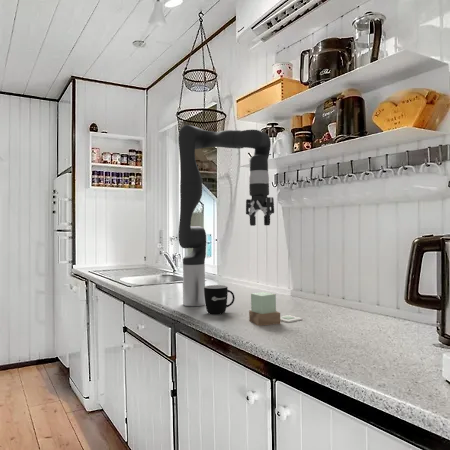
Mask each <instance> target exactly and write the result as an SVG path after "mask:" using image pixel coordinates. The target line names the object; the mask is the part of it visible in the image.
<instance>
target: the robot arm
mask: <svg viewBox="0 0 450 450" xmlns="http://www.w3.org/2000/svg"><path fill="white" fill-rule="evenodd" d="M271 143H272V142H271V137H270V135H269V134H268V133H267V132H263V131H261V130H259V129H246V130H238V129H237V130H236V129H235V130H234V129H227V130H226V129H225V130H220V131H211V130H206V129H202V128H201V127H198V126H194V125H191V124H184V125H183V126H182V127H181V128H180V130H179V132H178V150H179V160H180V164H179V165H180V183H179V184H180V185H179V186H180V188H179V191H180V192H179V193H180V198H179V199H180V204H179V205H180V208H179V210H180V211H179V213H180V214H179V226H178V237H177V238H178V242H179V246H180V248H182V249H192V251H191V253H189V254H188V255H185V256H184V257H183V259H182V274H183V275H182V278H183V280H182V304H183V306H184V307H202V306H206V305H205V296H204V287H205V286H206V277H205V276H206V268H205V267H206V266H205V263H206V262H205V259H206V256H207V233H206V230H205V228H204V227H203V226H199V225H197V226H196V225H195V226H192V224H191V223H192V217H193V214H194V211H195V210H196V208H197V206H198V205H199V203H200V201H201V199H202V196H203V178H202V175H201V172H200V169H199V167H198V165H197V161H196V150H199V149H206V148H224V149H225V148H226V149H245V148H246V149H248V148H249V149H253V150H254V152H253V155H252V156H251V157H250V158H249V176H248V181H249V182H248V185H249V186H248V187H249V196H251V199H250V198H247V199H245V215H248V216H249V225H250V226H251V227H252V226H256V225H257V224H256V218H257V217H256V215H257V213H258V212H259V211H262V213H263V225H264V226H270V225H271V215H272V214H275V204H274V203H275V202H274V197H271V196H270V176H269V156H270V152H271V148H272V147H271Z"/></svg>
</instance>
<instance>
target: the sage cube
mask: <svg viewBox="0 0 450 450" xmlns="http://www.w3.org/2000/svg"><path fill="white" fill-rule="evenodd" d="M276 297H277V294H276V293H273V292H267V291H263V292H262V291H261V292H254V293H253V292H252V293H250V304H251V305H250V307H251V308H250V310H251V311H253V312H256V313H260V314H266V313H272V312H276V311H277V301H276V299H277V298H276Z"/></svg>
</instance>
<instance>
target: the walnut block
mask: <svg viewBox="0 0 450 450" xmlns="http://www.w3.org/2000/svg"><path fill="white" fill-rule="evenodd" d="M248 315H249V317H248V318H249V319H248V320H249V322H250V323H252V324H254V325H256V326H259V327H261V326H268V325H269V326H270V325H272V326H273V325H281V321H280V317H281V312H280V311H277V310H276V312H272V313H266V314H260V313H256V312H253V311H251V309H249V310H248Z"/></svg>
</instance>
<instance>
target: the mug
mask: <svg viewBox="0 0 450 450" xmlns="http://www.w3.org/2000/svg"><path fill="white" fill-rule="evenodd" d="M228 287H229V286H228V285H224V284H223V285H222V284H212V285H211V284H209V285H205V287H204V296H205V305H204V306H205V310H206V311H207V312H206V313H207V314H209V315H213V316H217V315H218V316H219V315H223V314H226V310H227V308H229V307H230V306H232V305H233V304H234V302H235V299H236V298H235V294H234V292H233V291H232V290H230V289H229V288H228ZM228 293H230V294H231V296H232V299H231V302H230V303H228Z"/></svg>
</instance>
